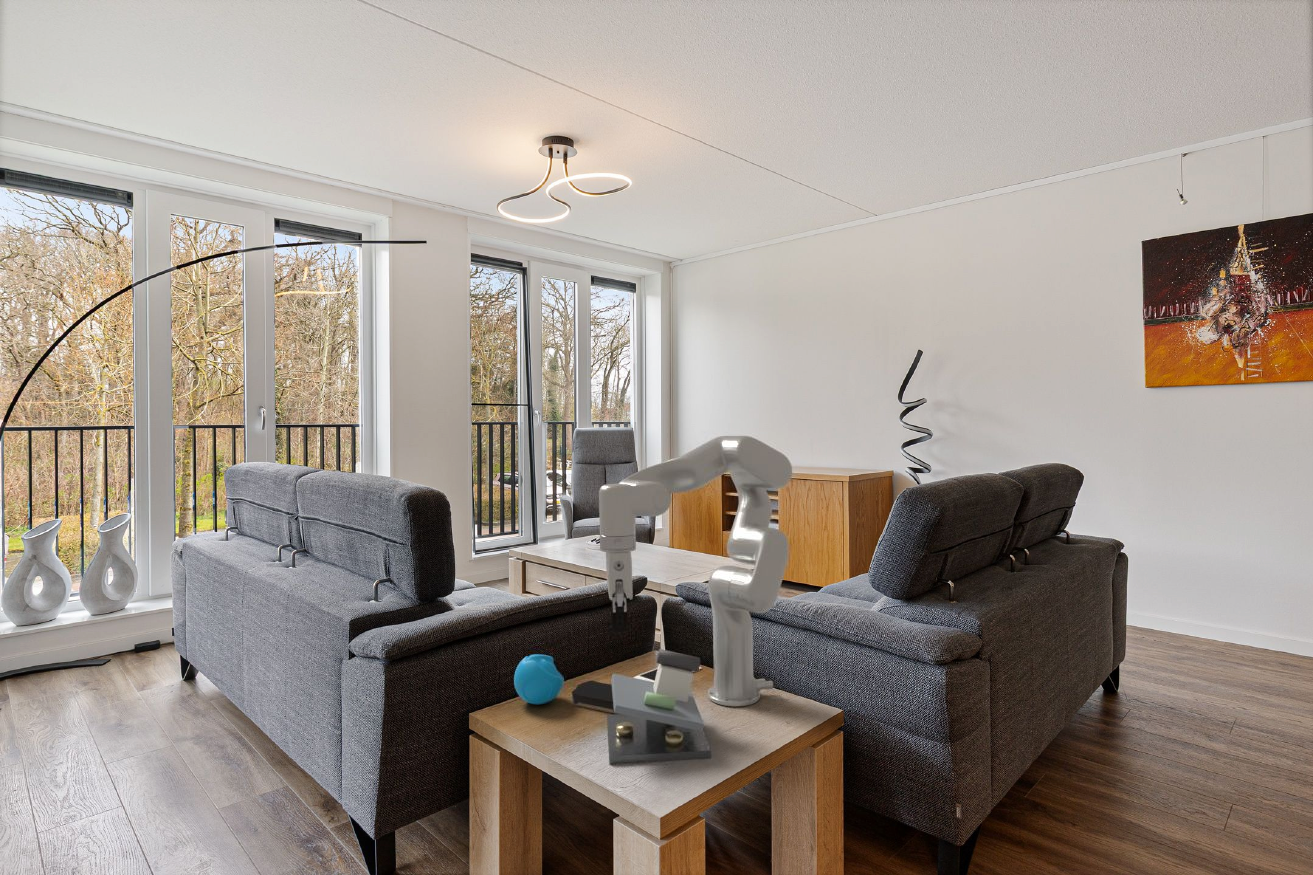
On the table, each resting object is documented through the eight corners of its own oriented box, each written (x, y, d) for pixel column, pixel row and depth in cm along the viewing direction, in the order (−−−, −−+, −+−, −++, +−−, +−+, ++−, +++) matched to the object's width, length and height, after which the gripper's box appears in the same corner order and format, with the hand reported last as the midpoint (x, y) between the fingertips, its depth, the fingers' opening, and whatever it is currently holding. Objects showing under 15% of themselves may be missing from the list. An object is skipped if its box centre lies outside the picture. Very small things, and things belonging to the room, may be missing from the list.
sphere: (571, 705, 162) (570, 656, 162) (526, 716, 156) (525, 666, 156) (550, 689, 172) (549, 643, 172) (506, 700, 166) (506, 652, 165)
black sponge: (643, 705, 162) (643, 689, 162) (624, 718, 154) (624, 702, 154) (587, 693, 170) (587, 679, 170) (566, 705, 162) (566, 690, 162)
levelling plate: (687, 701, 153) (700, 650, 153) (700, 737, 135) (714, 679, 135) (609, 685, 151) (622, 633, 152) (612, 718, 133) (627, 660, 134)
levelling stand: (695, 716, 154) (694, 692, 154) (710, 757, 134) (710, 731, 134) (606, 721, 152) (606, 697, 152) (609, 764, 132) (608, 737, 132)
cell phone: (702, 670, 185) (702, 667, 185) (657, 689, 172) (657, 685, 172) (677, 663, 191) (677, 660, 191) (632, 680, 178) (632, 677, 178)
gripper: (638, 549, 134) (639, 635, 134) (633, 536, 152) (634, 613, 152) (600, 550, 134) (601, 637, 134) (599, 537, 151) (601, 614, 151)
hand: (619, 624), depth 143 cm, fingers open, 9 cm apart
